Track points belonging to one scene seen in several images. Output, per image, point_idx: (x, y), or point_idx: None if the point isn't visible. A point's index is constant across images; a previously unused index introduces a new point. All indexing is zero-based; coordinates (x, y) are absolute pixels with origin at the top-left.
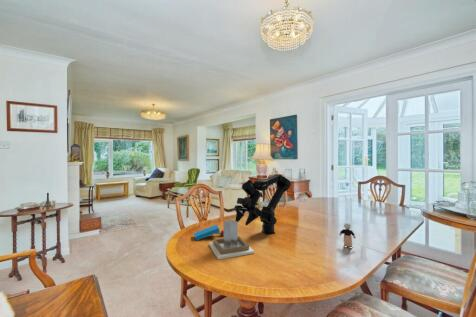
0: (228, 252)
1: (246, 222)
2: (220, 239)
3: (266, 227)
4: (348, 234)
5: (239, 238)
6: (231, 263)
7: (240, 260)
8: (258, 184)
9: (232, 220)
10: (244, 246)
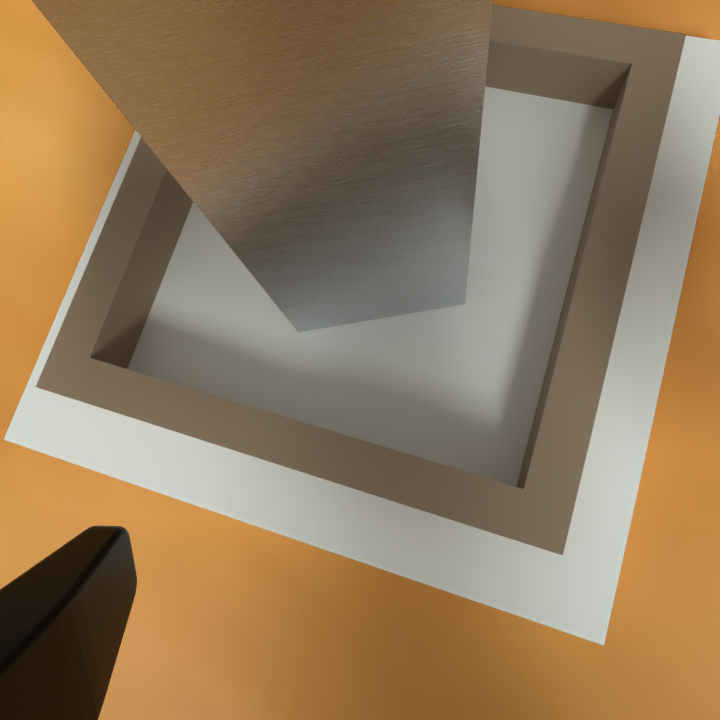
0: None
1: (20, 577)
2: (613, 140)
3: None
4: None
5: (429, 476)
6: (45, 63)
7: (22, 178)
8: None
9: None
10: (75, 310)
